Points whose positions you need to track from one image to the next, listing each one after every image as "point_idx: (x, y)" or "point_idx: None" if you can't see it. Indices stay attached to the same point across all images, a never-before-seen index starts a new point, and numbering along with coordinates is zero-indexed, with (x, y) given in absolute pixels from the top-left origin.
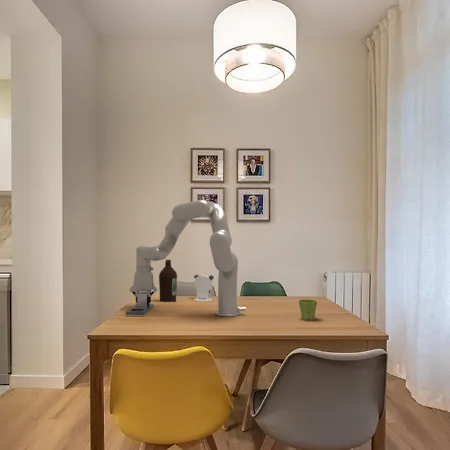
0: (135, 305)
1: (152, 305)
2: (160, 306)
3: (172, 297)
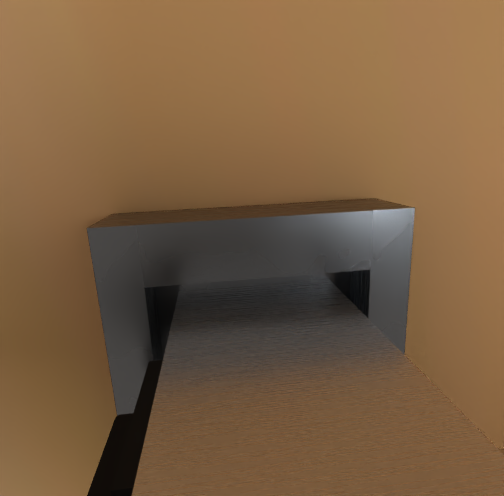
0: (131, 404)
1: (402, 299)
2: (459, 3)
3: None
